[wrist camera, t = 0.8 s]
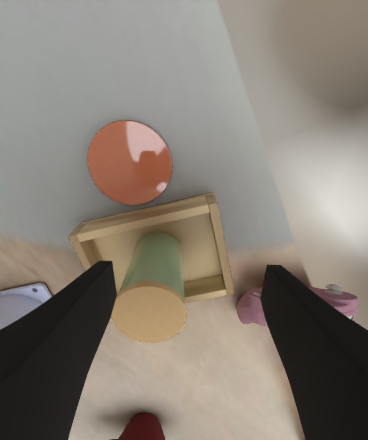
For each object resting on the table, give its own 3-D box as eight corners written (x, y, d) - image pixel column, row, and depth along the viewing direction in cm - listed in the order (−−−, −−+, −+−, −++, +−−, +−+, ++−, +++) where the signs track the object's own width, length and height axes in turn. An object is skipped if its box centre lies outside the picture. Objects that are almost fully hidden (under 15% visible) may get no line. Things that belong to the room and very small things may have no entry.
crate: (115, 298, 24) (108, 318, 22) (80, 222, 20) (67, 236, 18) (229, 275, 23) (234, 293, 21) (212, 192, 20) (217, 202, 17)
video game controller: (322, 275, 25) (378, 292, 18) (323, 317, 25) (380, 351, 18) (233, 275, 25) (254, 291, 18) (233, 318, 25) (254, 351, 18)
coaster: (107, 211, 20) (105, 212, 20) (75, 132, 17) (73, 132, 17) (180, 193, 20) (180, 195, 19) (159, 110, 17) (158, 110, 17)
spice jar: (142, 278, 23) (125, 348, 16) (125, 236, 21) (99, 295, 14) (189, 268, 22) (194, 335, 15) (177, 224, 20) (176, 279, 13)
